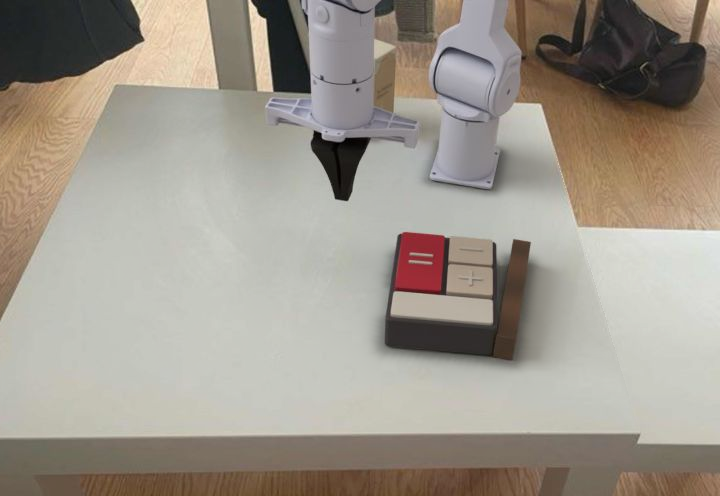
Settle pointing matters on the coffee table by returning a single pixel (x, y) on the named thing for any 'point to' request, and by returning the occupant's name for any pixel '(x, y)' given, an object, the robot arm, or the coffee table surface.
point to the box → (384, 75)
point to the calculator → (443, 294)
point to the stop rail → (512, 300)
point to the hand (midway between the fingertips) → (343, 195)
